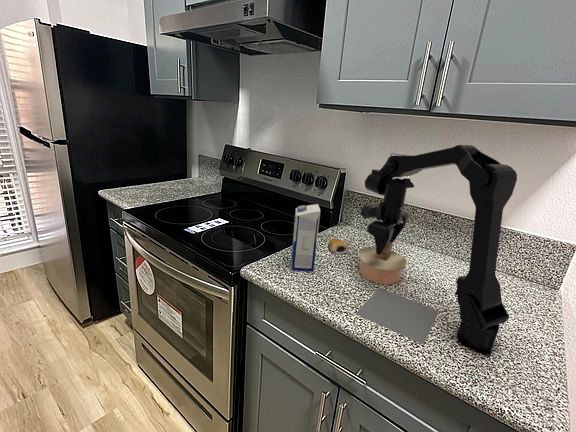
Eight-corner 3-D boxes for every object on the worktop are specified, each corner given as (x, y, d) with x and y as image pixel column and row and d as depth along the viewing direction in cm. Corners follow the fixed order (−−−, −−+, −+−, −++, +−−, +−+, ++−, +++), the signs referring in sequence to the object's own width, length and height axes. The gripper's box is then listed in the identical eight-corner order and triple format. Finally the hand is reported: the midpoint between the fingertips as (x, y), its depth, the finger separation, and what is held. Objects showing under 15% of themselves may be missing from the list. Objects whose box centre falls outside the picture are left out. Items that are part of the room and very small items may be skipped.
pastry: (324, 243, 117) (326, 234, 116) (341, 243, 118) (343, 234, 117) (331, 254, 108) (333, 244, 107) (349, 255, 110) (351, 245, 108)
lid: (411, 259, 96) (415, 242, 94) (397, 276, 85) (401, 257, 84) (369, 245, 104) (372, 229, 102) (351, 259, 93) (353, 241, 91)
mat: (438, 312, 80) (438, 310, 80) (422, 346, 68) (423, 344, 67) (378, 289, 89) (379, 287, 88) (355, 315, 76) (355, 313, 76)
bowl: (404, 275, 98) (407, 259, 96) (391, 290, 89) (395, 273, 87) (368, 262, 104) (370, 247, 103) (353, 275, 95) (355, 259, 93)
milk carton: (313, 272, 95) (320, 210, 89) (291, 270, 95) (297, 208, 88) (311, 261, 102) (318, 203, 95) (291, 260, 102) (296, 201, 95)
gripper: (378, 189, 100) (370, 233, 105) (354, 199, 86) (346, 250, 91) (413, 196, 94) (403, 243, 99) (393, 208, 80) (383, 263, 85)
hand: (384, 249), depth 94 cm, fingers open, 9 cm apart
